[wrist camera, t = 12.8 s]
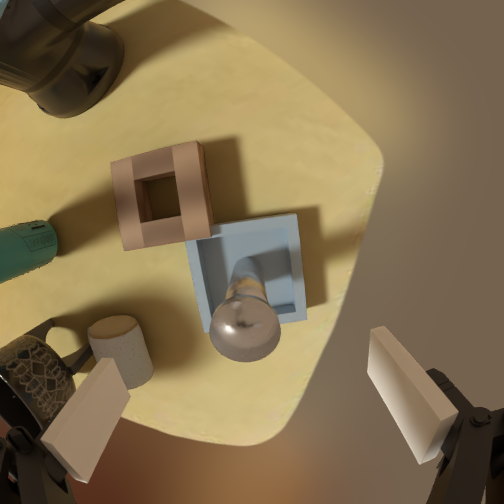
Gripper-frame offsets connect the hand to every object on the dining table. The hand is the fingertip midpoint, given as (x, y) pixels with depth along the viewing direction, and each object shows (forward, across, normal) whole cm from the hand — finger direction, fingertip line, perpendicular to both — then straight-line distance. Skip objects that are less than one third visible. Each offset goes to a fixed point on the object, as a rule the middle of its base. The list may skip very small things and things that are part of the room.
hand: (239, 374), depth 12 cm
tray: (+21, 0, -1) cm, 21 cm away
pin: (+20, 0, -1) cm, 20 cm away
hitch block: (+21, -8, +9) cm, 24 cm away
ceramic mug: (+21, -19, -9) cm, 30 cm away
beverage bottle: (+21, -28, +7) cm, 36 cm away
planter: (+21, -30, -10) cm, 38 cm away
